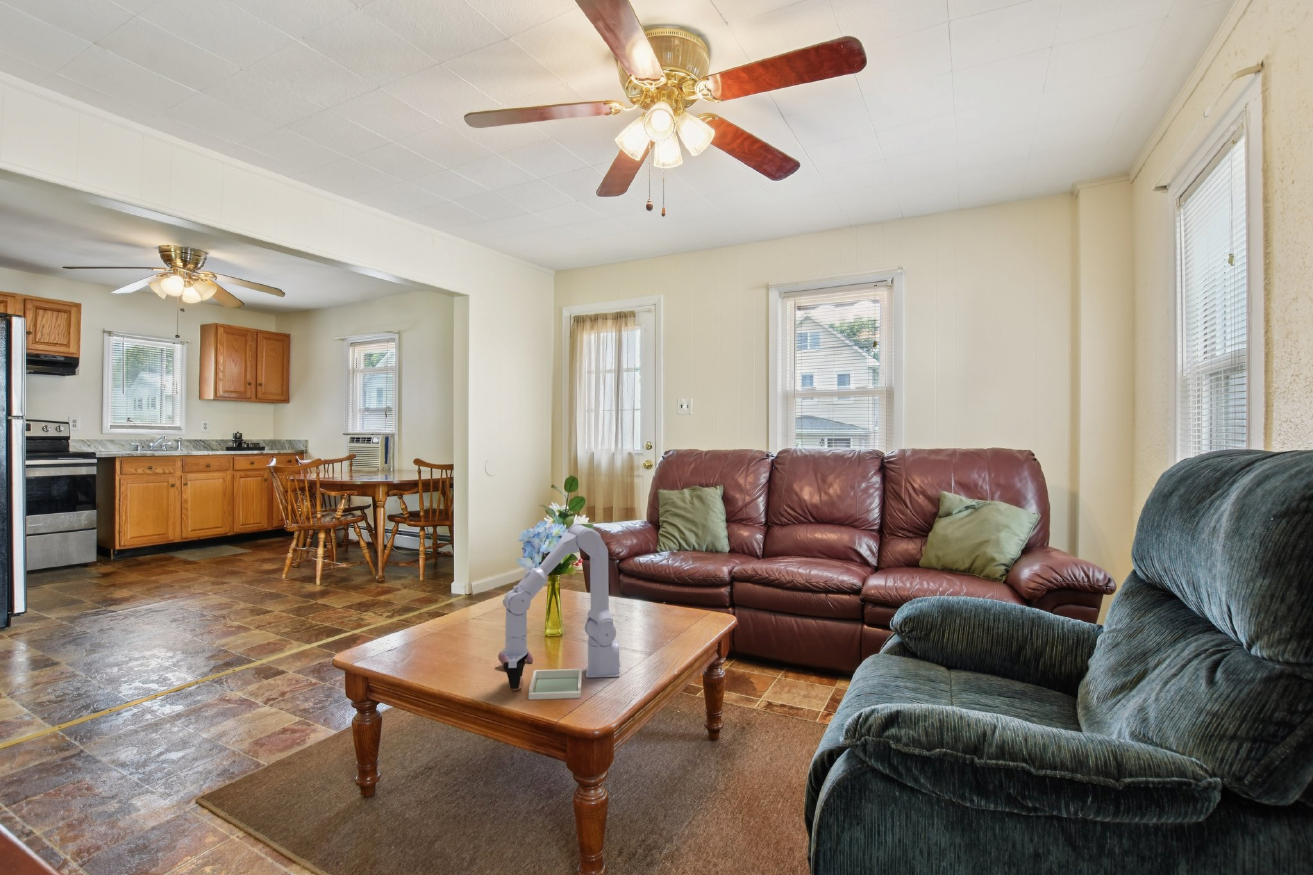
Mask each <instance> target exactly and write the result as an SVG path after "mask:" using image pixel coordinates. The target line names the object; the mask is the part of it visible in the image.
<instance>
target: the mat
mask: <svg viewBox="0 0 1313 875" xmlns="http://www.w3.org/2000/svg"><path fill="white" fill-rule="evenodd" d="M567 691H578V678H563V679H538V680H536V684H535V688H534V692H533V693H537V692H567Z"/></svg>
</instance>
